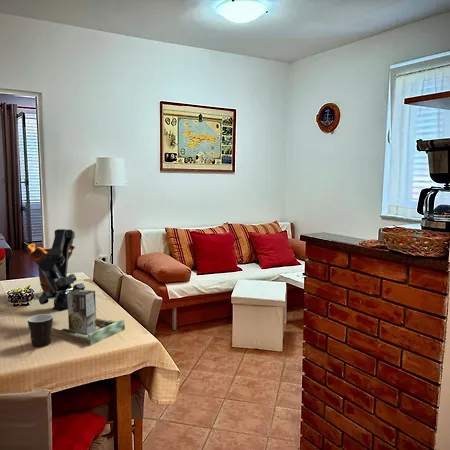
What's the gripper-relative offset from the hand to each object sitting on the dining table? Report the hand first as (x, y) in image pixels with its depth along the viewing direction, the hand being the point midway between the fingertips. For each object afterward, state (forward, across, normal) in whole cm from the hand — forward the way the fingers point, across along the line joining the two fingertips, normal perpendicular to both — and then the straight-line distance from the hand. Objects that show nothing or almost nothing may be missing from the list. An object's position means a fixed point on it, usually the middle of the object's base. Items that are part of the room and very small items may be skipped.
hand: (71, 310), depth 172 cm
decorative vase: (-30, +21, +40) cm, 54 cm away
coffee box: (+10, 0, 0) cm, 10 cm away
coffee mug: (+11, -18, 0) cm, 21 cm away
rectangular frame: (+11, 0, -1) cm, 11 cm away
